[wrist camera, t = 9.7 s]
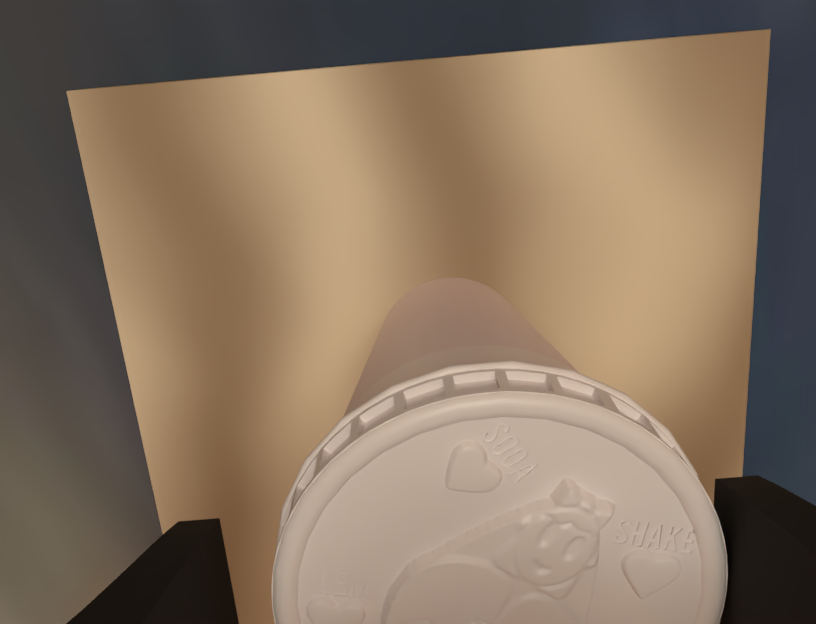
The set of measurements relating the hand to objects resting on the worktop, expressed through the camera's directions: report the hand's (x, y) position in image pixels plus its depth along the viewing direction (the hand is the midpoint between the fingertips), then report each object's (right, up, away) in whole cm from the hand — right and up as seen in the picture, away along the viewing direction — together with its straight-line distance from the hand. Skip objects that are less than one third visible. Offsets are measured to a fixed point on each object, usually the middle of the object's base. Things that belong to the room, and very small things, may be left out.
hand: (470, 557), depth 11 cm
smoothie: (0, +3, +9) cm, 9 cm away
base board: (0, +2, +10) cm, 10 cm away
